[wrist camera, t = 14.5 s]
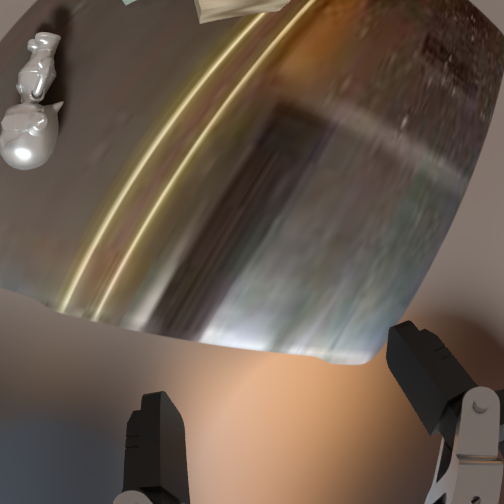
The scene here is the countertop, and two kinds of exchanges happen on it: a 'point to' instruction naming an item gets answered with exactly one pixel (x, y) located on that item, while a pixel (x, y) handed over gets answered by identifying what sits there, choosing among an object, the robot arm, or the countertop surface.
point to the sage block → (128, 1)
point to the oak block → (234, 8)
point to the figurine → (32, 109)
